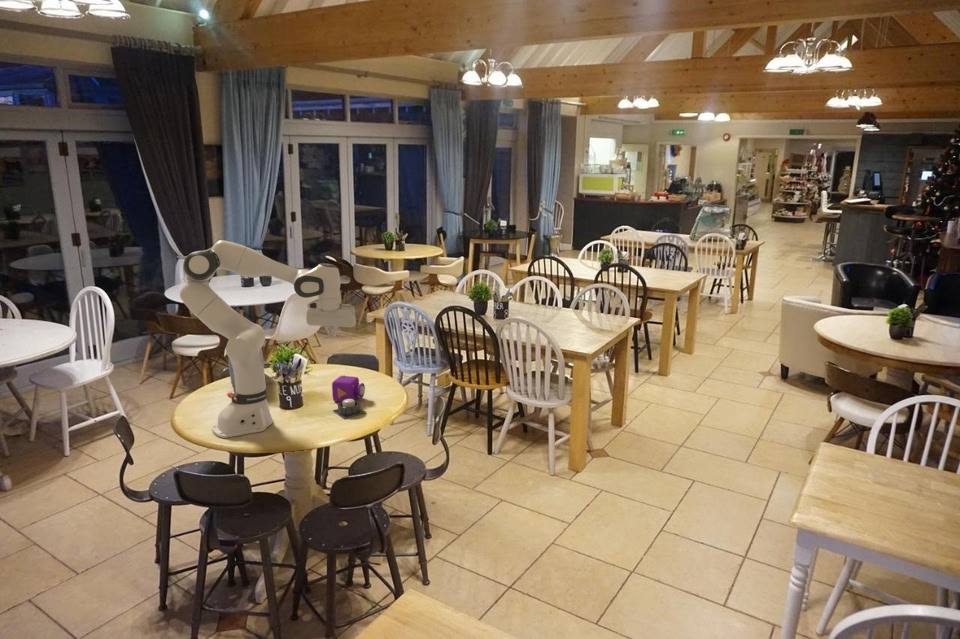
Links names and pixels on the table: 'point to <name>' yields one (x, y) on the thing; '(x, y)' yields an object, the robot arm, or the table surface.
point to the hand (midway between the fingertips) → (332, 336)
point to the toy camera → (347, 388)
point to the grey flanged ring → (349, 410)
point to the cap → (348, 403)
